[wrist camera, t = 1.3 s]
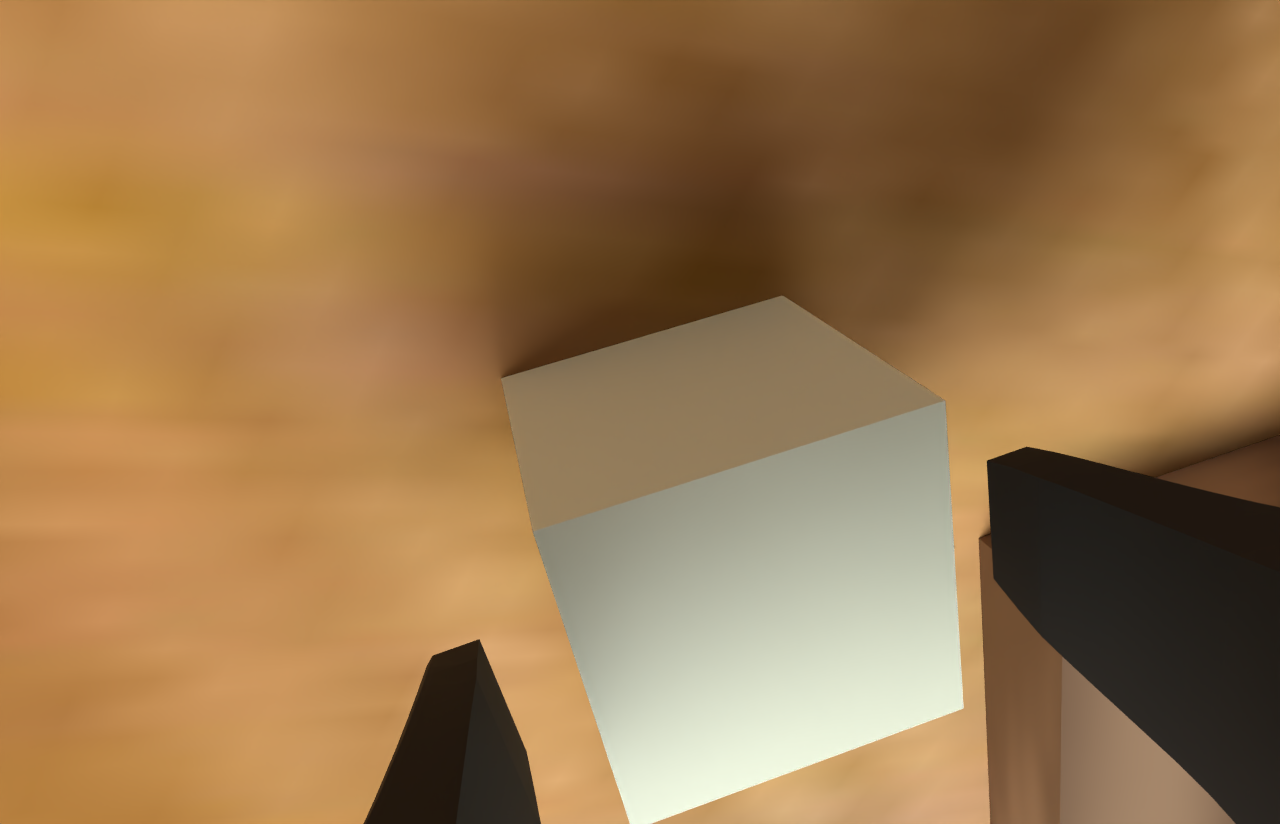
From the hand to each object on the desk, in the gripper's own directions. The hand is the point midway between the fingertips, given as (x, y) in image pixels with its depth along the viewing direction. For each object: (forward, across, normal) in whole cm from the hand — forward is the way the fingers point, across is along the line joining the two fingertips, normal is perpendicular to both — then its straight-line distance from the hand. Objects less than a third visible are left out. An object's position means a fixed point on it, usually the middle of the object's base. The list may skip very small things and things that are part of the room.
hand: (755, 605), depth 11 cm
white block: (+4, 0, 0) cm, 4 cm away
